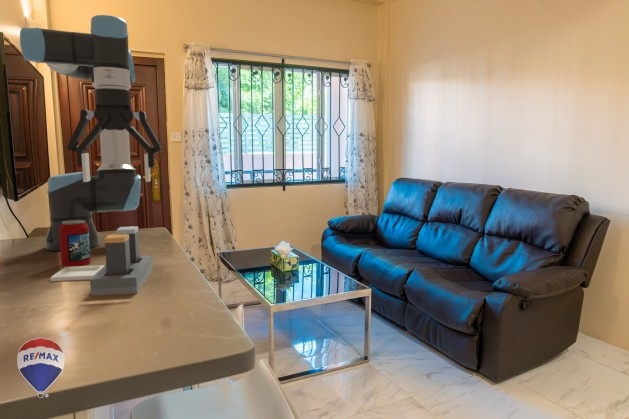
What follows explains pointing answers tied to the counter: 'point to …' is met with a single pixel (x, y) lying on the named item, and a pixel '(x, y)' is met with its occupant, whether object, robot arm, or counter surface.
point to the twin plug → (132, 242)
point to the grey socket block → (122, 279)
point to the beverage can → (74, 243)
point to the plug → (117, 255)
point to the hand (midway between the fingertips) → (117, 181)
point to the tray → (76, 273)
